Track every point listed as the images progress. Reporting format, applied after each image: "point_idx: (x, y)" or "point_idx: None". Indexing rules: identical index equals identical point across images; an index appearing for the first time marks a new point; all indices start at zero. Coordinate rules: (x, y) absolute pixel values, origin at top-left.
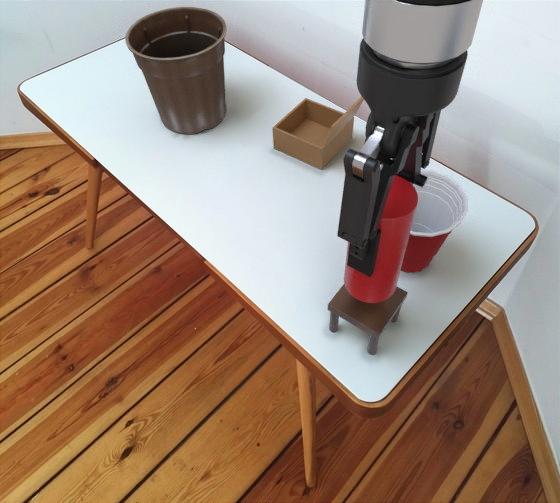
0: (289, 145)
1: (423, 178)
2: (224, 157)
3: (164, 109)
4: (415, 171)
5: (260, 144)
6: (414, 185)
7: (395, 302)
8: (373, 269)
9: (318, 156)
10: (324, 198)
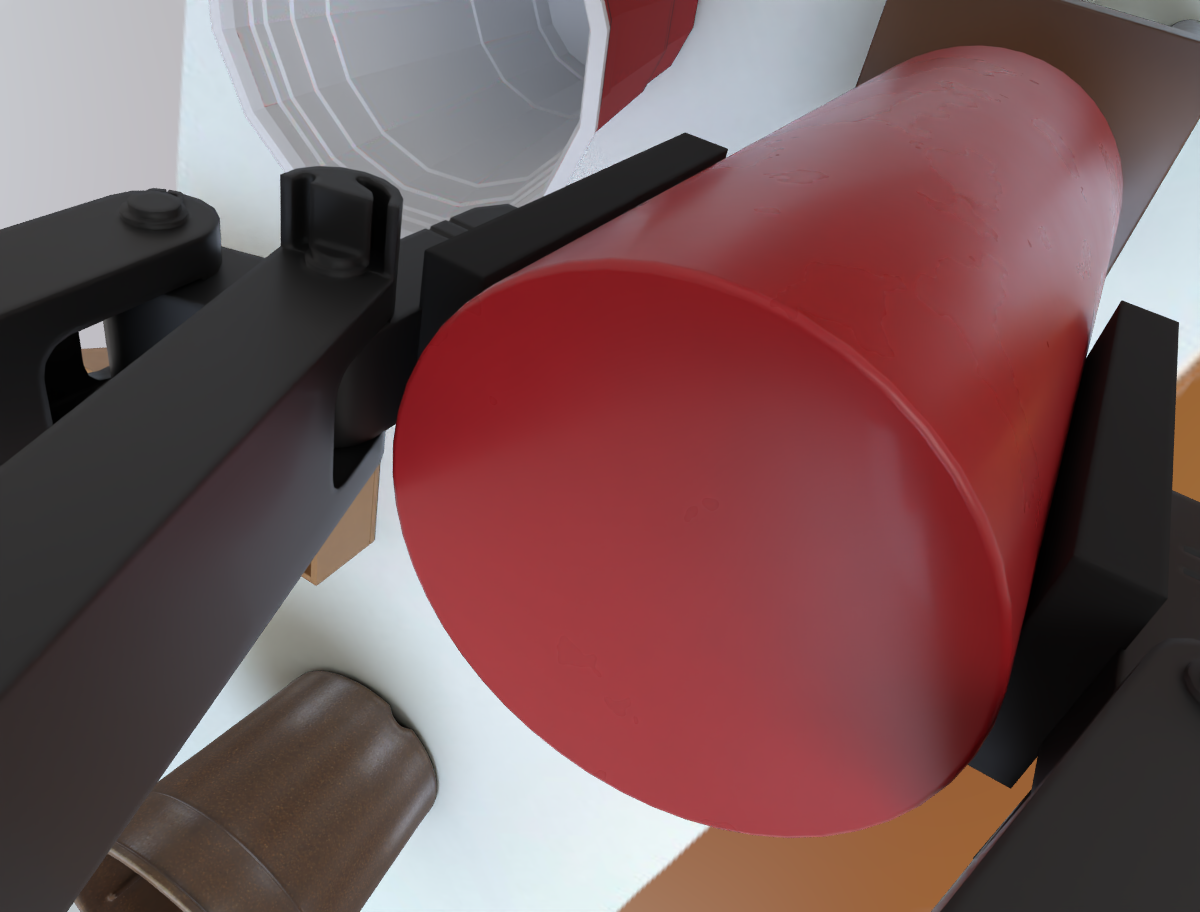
0: (348, 514)
1: (312, 210)
2: (460, 666)
3: (393, 855)
4: (289, 382)
5: (378, 576)
6: (321, 85)
7: (989, 9)
8: (1134, 324)
9: None
10: None
